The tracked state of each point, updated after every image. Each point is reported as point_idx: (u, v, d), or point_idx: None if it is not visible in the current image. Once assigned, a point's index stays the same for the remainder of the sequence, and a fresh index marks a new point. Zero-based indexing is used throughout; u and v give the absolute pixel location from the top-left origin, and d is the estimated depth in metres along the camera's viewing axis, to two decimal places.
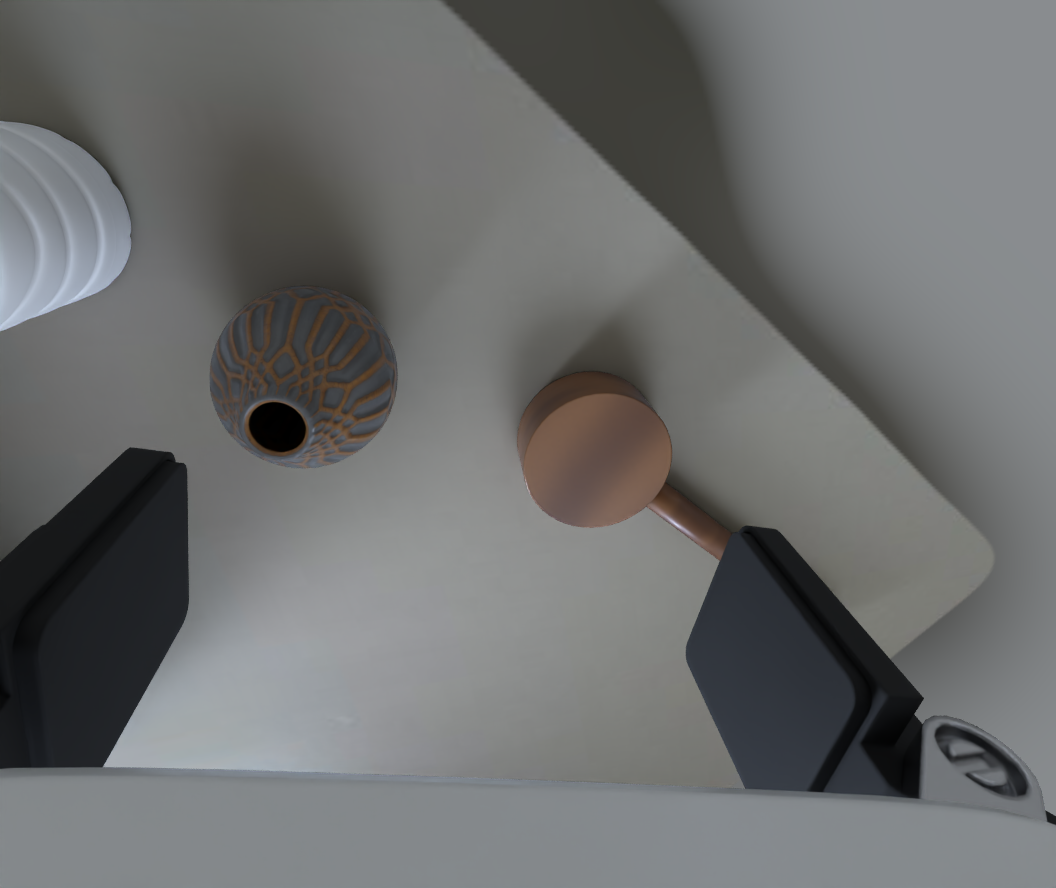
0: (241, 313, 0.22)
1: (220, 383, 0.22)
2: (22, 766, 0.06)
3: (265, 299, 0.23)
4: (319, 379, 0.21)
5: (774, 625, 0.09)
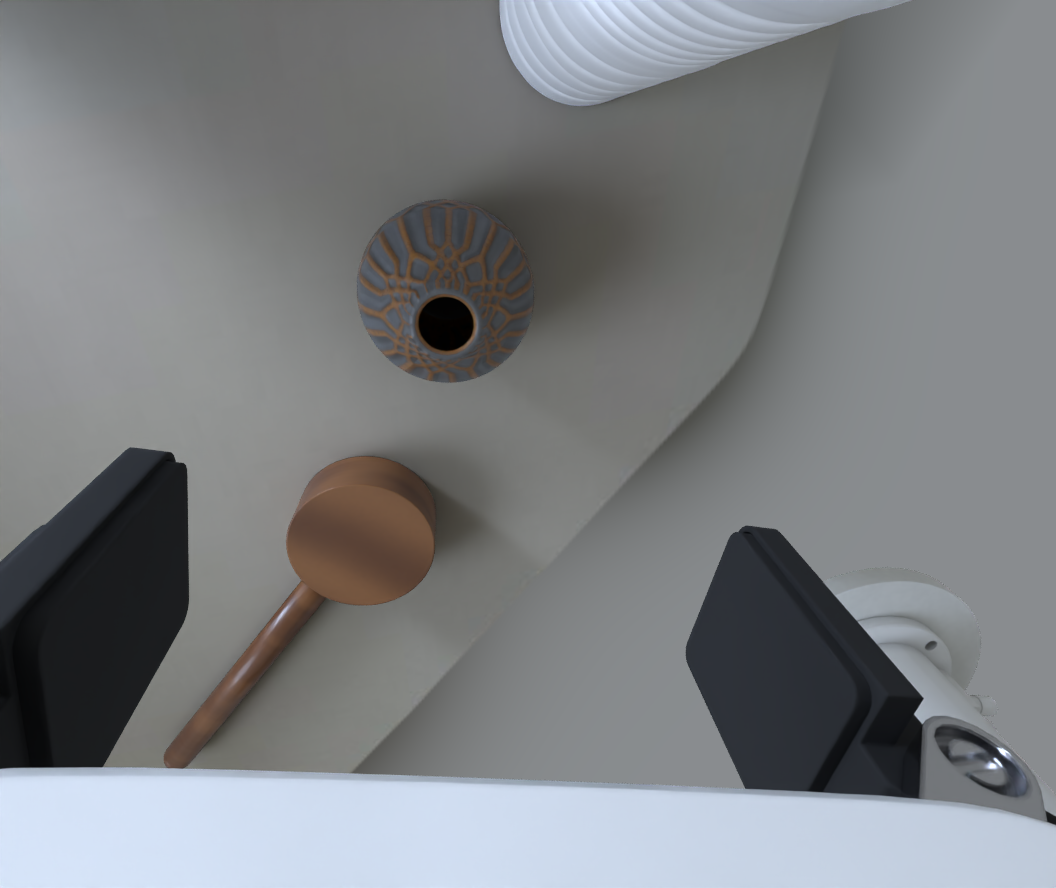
0: (520, 248, 0.23)
1: (468, 242, 0.21)
2: (22, 766, 0.06)
3: (530, 270, 0.24)
4: (483, 351, 0.22)
5: (774, 625, 0.09)
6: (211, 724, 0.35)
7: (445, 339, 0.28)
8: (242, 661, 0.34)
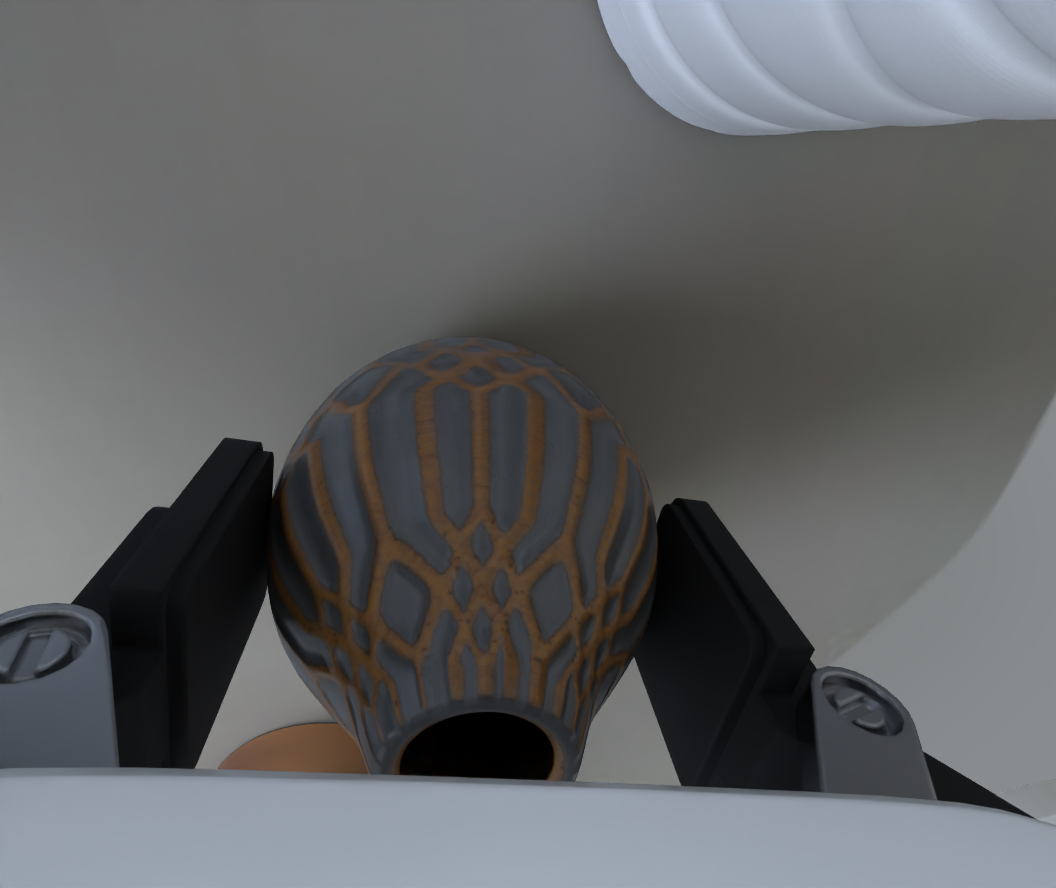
0: (635, 462, 0.10)
1: (533, 501, 0.08)
2: (164, 715, 0.07)
3: (651, 496, 0.11)
4: None
5: (693, 589, 0.10)
6: None
7: None
8: None
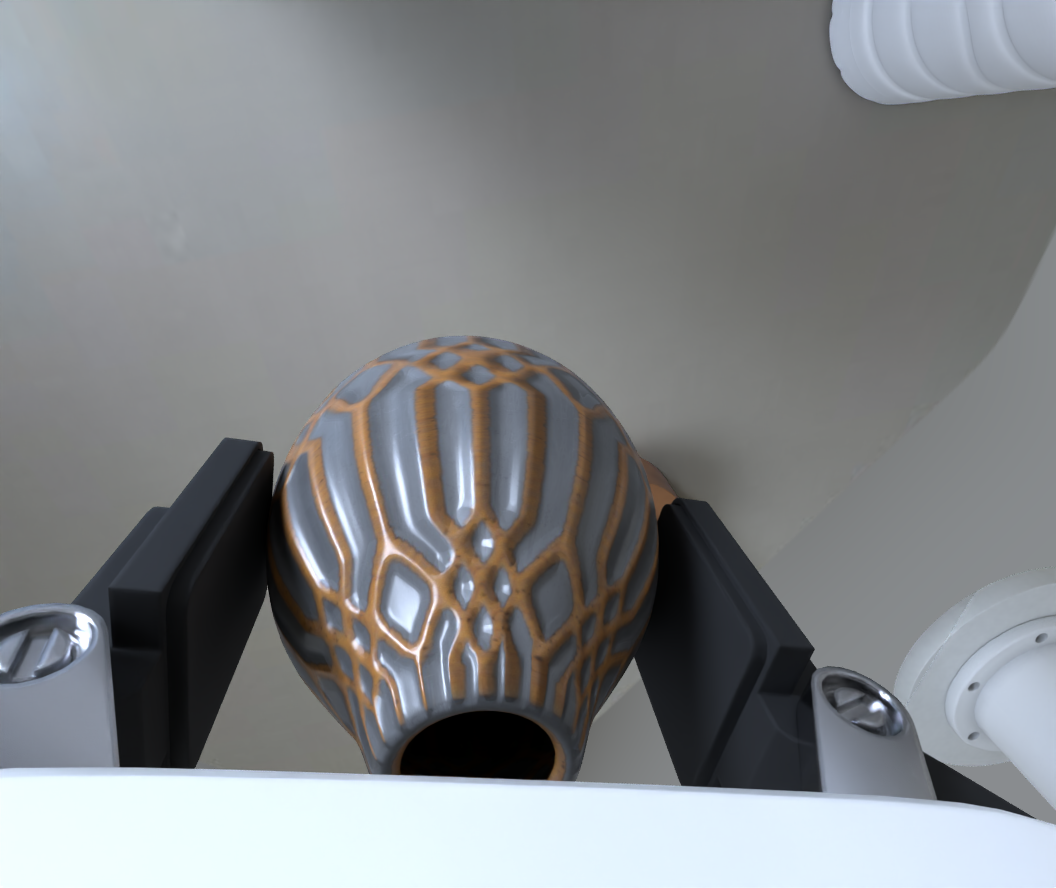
0: (636, 461, 0.10)
1: (533, 499, 0.08)
2: (164, 715, 0.07)
3: (652, 495, 0.11)
4: None
5: (692, 589, 0.10)
6: None
7: None
8: None
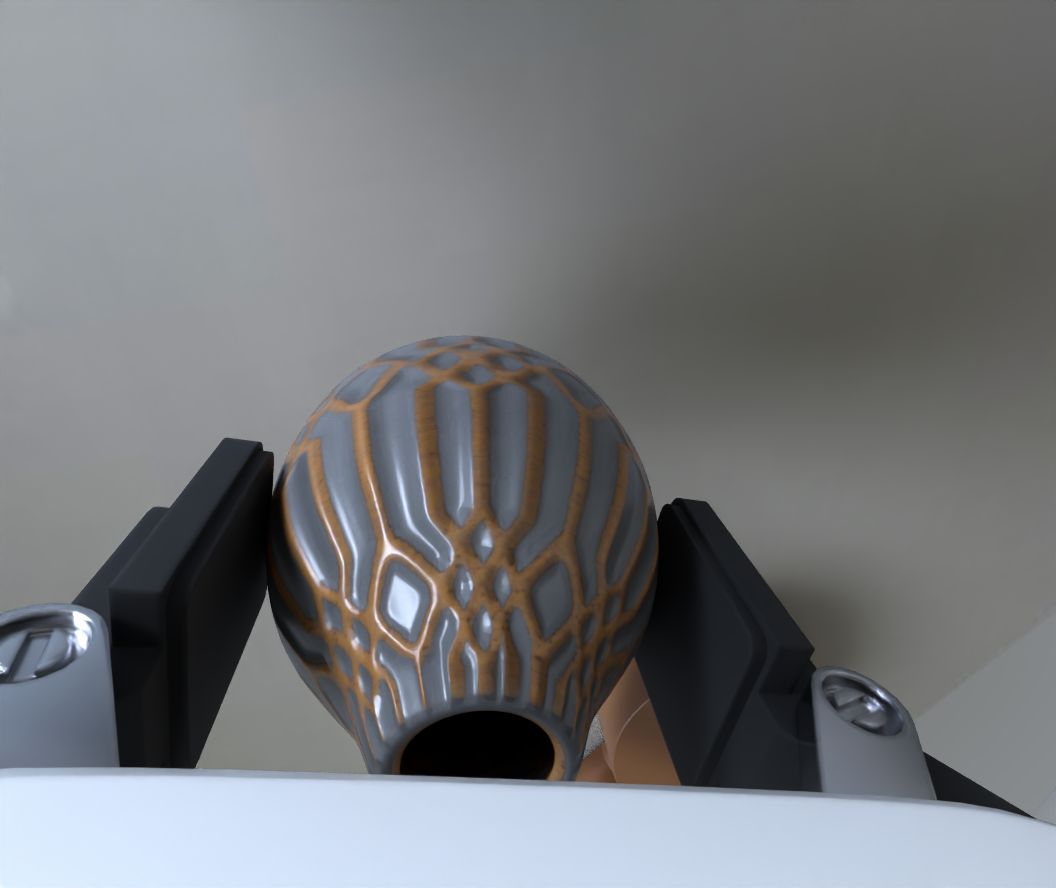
0: (636, 461, 0.10)
1: (533, 500, 0.08)
2: (165, 715, 0.07)
3: None
4: None
5: (693, 589, 0.10)
6: None
7: None
8: None
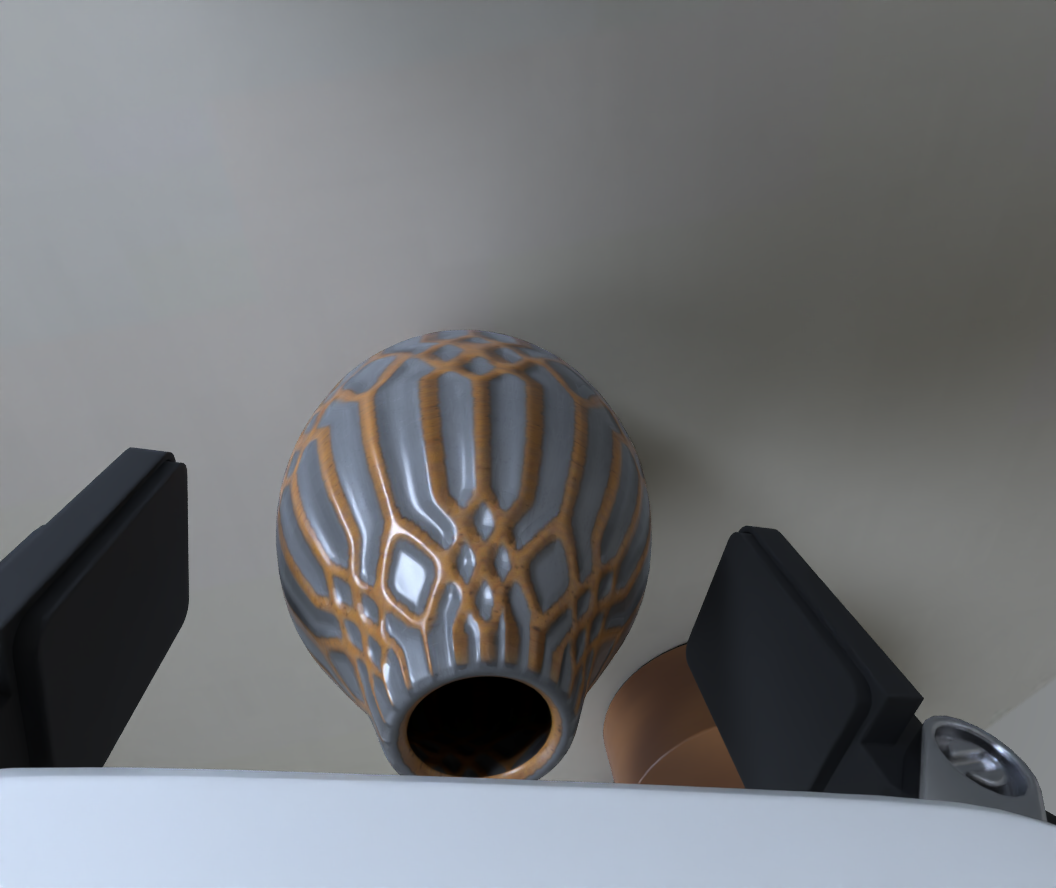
0: (630, 448, 0.11)
1: (531, 482, 0.09)
2: (22, 766, 0.06)
3: (645, 482, 0.11)
4: None
5: (774, 625, 0.09)
6: None
7: None
8: None
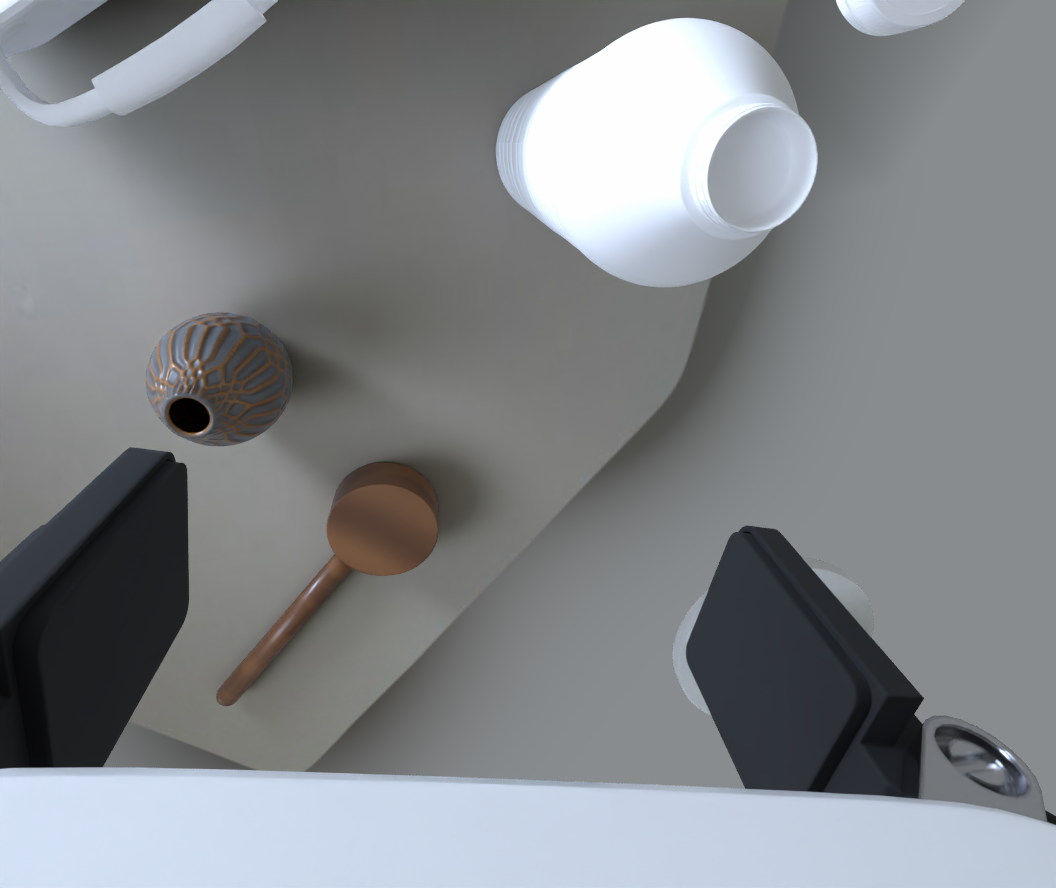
0: (267, 352, 0.32)
1: (214, 355, 0.30)
2: (22, 766, 0.06)
3: (280, 366, 0.33)
4: (229, 430, 0.31)
5: (774, 625, 0.09)
6: (257, 668, 0.45)
7: None
8: (284, 619, 0.44)
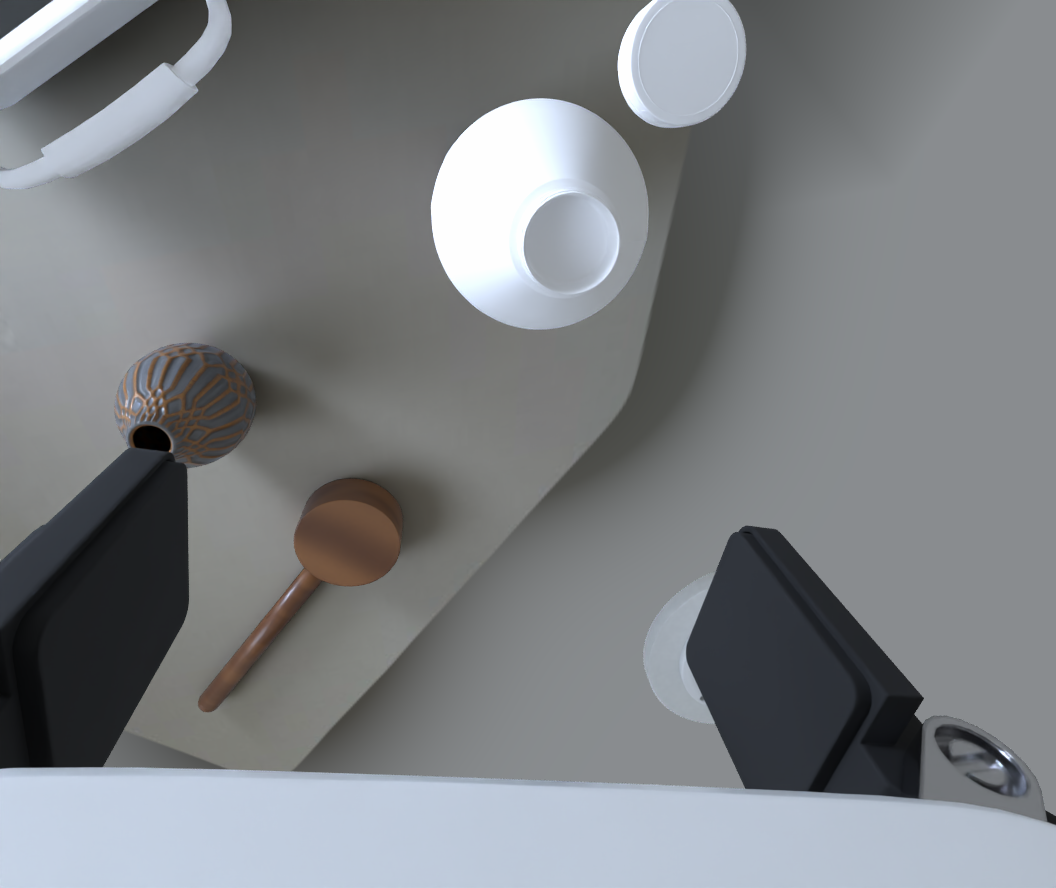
0: (228, 380, 0.35)
1: (175, 384, 0.32)
2: (22, 766, 0.06)
3: (240, 392, 0.35)
4: (191, 453, 0.33)
5: (774, 625, 0.09)
6: (235, 676, 0.47)
7: None
8: (259, 628, 0.46)
